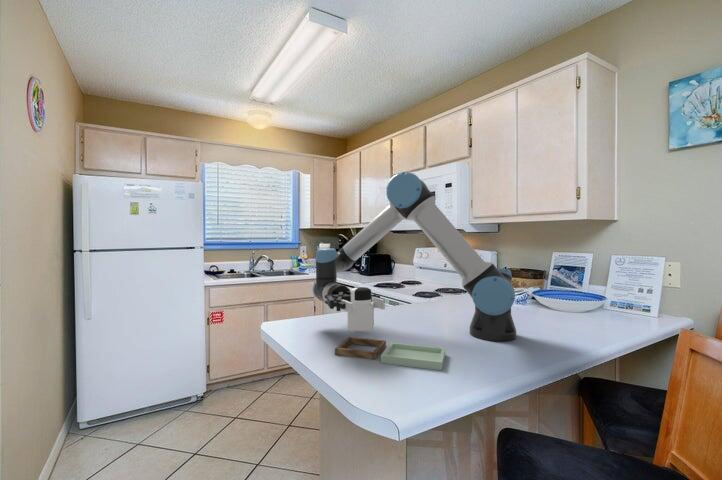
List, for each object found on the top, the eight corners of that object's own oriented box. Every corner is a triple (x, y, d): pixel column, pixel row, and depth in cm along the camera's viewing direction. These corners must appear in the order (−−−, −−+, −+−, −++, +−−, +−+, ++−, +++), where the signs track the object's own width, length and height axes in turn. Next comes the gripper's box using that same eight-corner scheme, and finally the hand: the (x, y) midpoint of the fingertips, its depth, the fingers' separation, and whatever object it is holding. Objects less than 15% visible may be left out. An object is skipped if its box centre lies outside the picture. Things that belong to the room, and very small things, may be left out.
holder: (385, 346, 107) (385, 340, 107) (375, 359, 95) (375, 352, 95) (349, 342, 110) (349, 336, 110) (334, 354, 99) (335, 348, 99)
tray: (445, 354, 99) (445, 348, 99) (442, 370, 88) (442, 362, 88) (390, 349, 104) (390, 342, 104) (380, 362, 93) (380, 355, 93)
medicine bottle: (373, 325, 106) (373, 286, 106) (372, 331, 99) (372, 289, 99) (350, 325, 107) (350, 286, 107) (347, 331, 100) (347, 289, 100)
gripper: (365, 303, 124) (400, 315, 104) (305, 309, 114) (332, 324, 94) (365, 282, 124) (400, 290, 104) (305, 286, 114) (331, 296, 94)
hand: (368, 306), depth 99 cm, fingers closed on medicine bottle, 10 cm apart
